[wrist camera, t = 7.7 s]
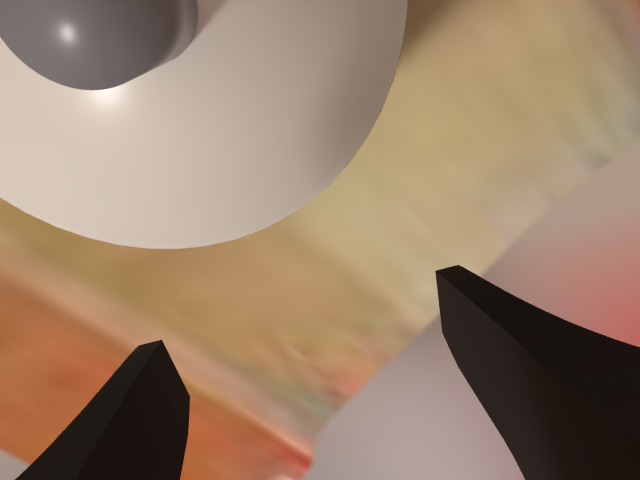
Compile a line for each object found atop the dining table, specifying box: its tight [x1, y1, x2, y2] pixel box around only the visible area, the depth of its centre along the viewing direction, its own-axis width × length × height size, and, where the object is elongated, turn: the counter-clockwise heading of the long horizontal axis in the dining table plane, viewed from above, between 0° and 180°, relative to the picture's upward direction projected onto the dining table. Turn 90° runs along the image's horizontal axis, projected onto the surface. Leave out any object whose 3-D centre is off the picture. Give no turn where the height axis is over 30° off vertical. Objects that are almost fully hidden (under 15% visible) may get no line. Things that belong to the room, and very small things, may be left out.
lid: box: [0, 0, 408, 249], centre depth 10 cm, size 15×15×6 cm
